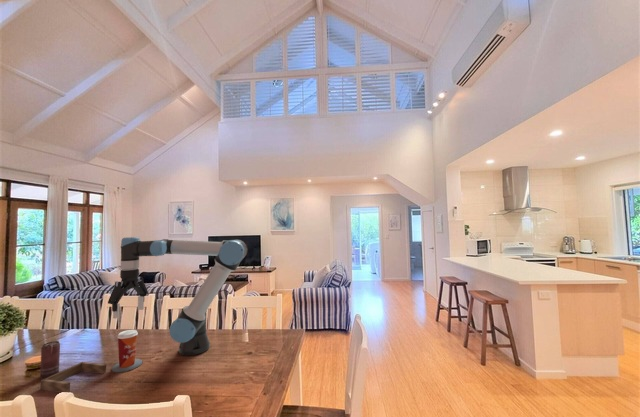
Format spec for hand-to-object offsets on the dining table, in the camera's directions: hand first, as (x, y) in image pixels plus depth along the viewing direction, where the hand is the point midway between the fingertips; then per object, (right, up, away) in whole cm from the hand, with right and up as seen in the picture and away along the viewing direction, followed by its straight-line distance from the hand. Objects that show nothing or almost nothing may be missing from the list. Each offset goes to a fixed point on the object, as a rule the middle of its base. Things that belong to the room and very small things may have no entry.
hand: (129, 313), depth 137 cm
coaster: (+1, -24, -2) cm, 24 cm away
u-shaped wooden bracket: (-13, -24, -14) cm, 31 cm away
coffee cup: (+1, -24, -2) cm, 24 cm away
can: (-29, -24, -10) cm, 39 cm away
